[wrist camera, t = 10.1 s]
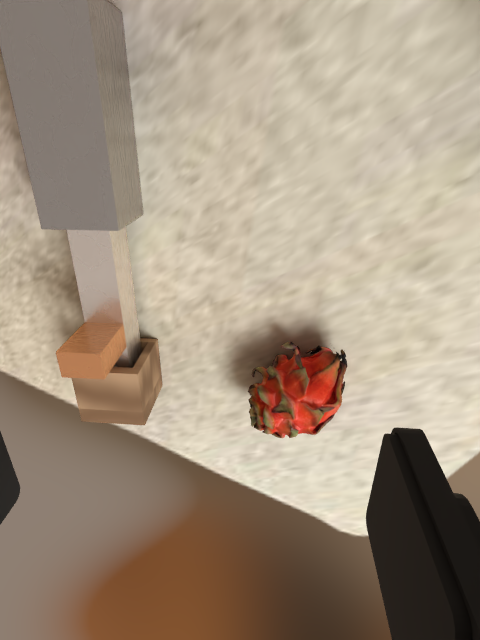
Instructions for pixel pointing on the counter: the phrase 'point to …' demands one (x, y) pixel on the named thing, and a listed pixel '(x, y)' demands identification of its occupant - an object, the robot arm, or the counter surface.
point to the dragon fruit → (298, 392)
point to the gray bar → (102, 306)
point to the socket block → (122, 390)
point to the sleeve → (73, 110)
